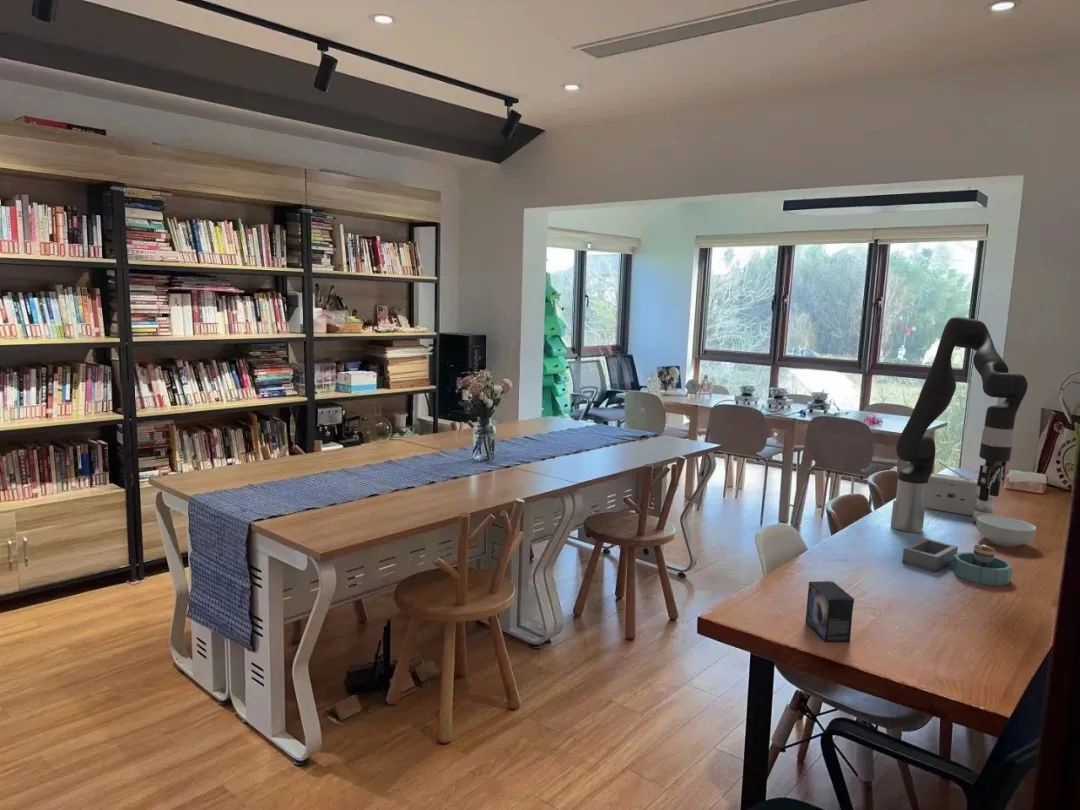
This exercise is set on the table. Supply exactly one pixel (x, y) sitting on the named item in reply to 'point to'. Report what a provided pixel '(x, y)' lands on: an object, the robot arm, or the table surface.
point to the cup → (982, 570)
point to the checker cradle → (929, 554)
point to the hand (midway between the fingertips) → (988, 498)
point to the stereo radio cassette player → (951, 493)
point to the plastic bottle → (983, 506)
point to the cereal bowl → (1005, 530)
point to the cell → (983, 556)
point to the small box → (829, 611)
